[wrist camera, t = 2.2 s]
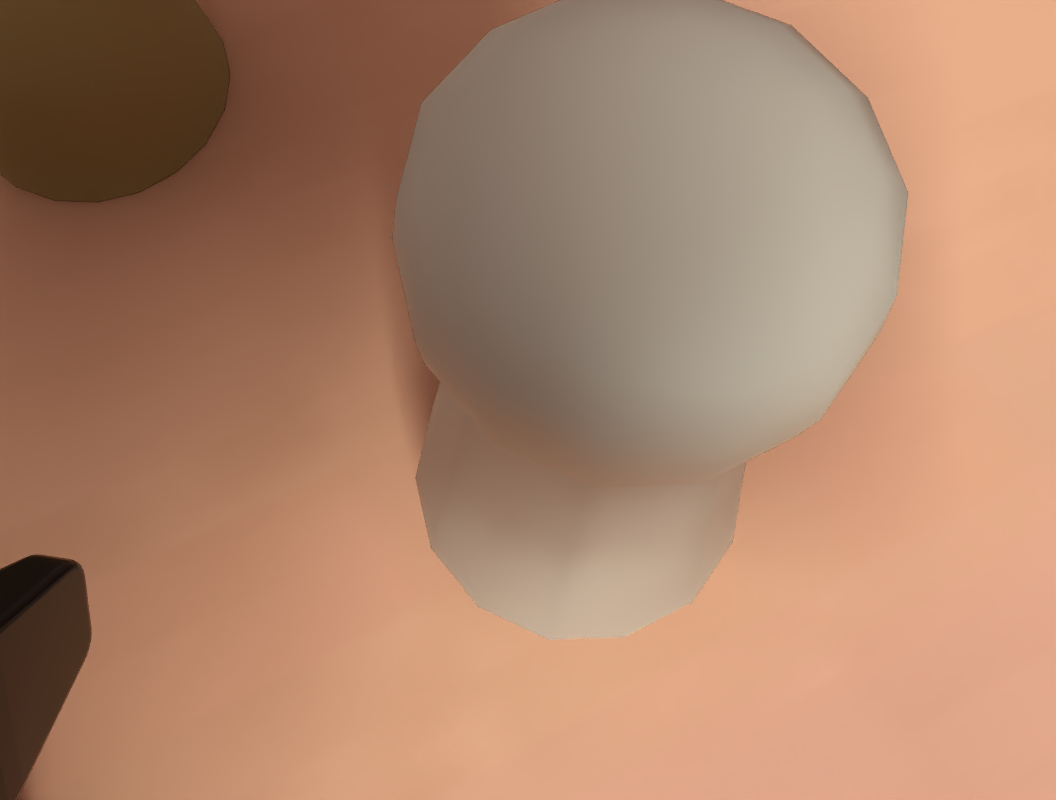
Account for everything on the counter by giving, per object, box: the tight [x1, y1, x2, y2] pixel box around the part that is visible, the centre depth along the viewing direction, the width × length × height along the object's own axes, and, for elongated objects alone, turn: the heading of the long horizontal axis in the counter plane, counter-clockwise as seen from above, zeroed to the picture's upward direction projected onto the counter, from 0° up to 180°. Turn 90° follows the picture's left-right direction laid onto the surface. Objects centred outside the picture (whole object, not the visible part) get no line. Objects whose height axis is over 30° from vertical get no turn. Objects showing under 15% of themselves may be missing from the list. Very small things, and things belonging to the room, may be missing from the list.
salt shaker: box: [392, 0, 908, 640], centre depth 13 cm, size 6×6×13 cm
